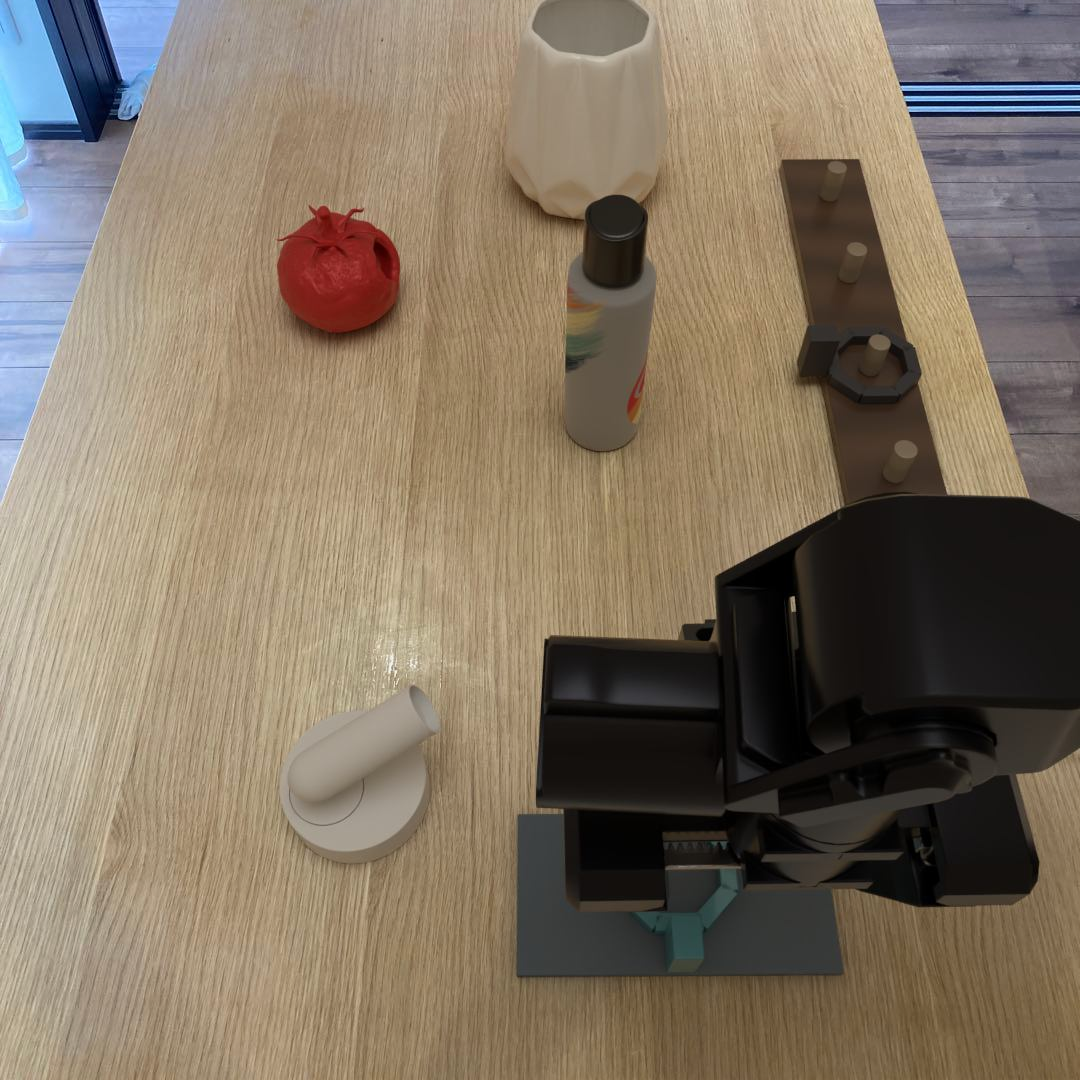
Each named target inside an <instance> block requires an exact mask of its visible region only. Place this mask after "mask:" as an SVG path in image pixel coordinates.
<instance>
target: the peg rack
mask: <svg viewBox="0 0 1080 1080" xmlns="http://www.w3.org/2000/svg"><path fill="white" fill-rule="evenodd" d="M862 168H863V167H862V164H861V160H860V159H859V158H798V159H797V158H795V159H791V158H790V159H789V158H788V159H787V158H785V159H783V158H782V159H781V161H780V165H779V175H780V180H781V185H782V192H783V196H784V200H785V206H786V211H787V216H788V221H789V225H790V231H791V232H790V233H791V237H792V241H793V247H794V251H795V257H796V261H797V267H798V272H799V277H800V281H801V287H802V292H803V298H804V302H805V307H806V312H807V317H808V323H809V325H837V328H838V333H840V332H841V331H842V330H843V329H845V328H848V327H882V329H883V328H884V327H885V328H886V329H888V330H890V331H891V332H893V333H895V334H896V335H898V336H899V337H901V338H903V339H904V340H906V341H908V339H907V335H906V331H905V328H904V324H903V320H902V317H901V312H900V309H899V305H898V301H897V297H896V294H895V290H894V286H893V282H892V279H891V275H890V271H889V267H888V263H887V260H886V256H885V252H884V248H883V244H882V241H881V237H880V232H879V229H878V225H877V221H876V218H875V214H874V210H873V206H872V202H871V198H870V195H869V191H868V187H867V183H866V179H865V176H864V172H863V169H862ZM890 345H891V343H890V340H889V339H888V338H887V337H886V336H884V335H879V334H877V335H873V336H872V337H870V339H869V341H868V344H850V345H849V346H848V347H847V348H846V349H845V350H844V351H843V352H842V353H840V354H839V355H838V356H839V361H840V365H841V370H842V371H843V372H844V373H846V374H847V375H849V376H850V377H852V378H854V379H855V380H857V381H858V382H860V383H861V384H863V385H864V386H893V385H894V384H895V383H896V382H897V381H898V380H899V379H900V378H901V377H902V376H903V375H904V374H903V370H902V366H901V362H900V358H898V357H896V356H895V355H893V354H892V353H890V352H888V350H889V348H890ZM819 378H820V383H821V388H822V394H823V399H824V404H825V408H826V413H827V418H828V424H829V429H830V435H831V439H832V444H833V450H834V454H835V455H834V456H835V460H836V464H837V470H838V474H839V480H840V485H841V491H842V495H843V500H844V506H846V505H847V504H850V503H852V502H854V501H857V500H859V499H862V498H864V497H868V496H872V495H877V494H882V493H889V492H911V493H918V494H943V495H948V492H947V488H946V484H945V480H944V475H943V473H942V469H941V466H940V461H939V458H938V454H937V449H936V446H935V442H934V438H933V434H932V431H931V426H930V423H929V419H928V416H927V415H928V414H927V411H926V407H925V403H924V401H923V396H922V393H921V389H920V388H921V387H920V385H919V383H918V384H917V385H916V386H915V387H914V388H913V389H912V390H911V391H910V392H908V393H907V394H906V395H905V396H904V397H903V398H902V399H901V400H900V401H899V402H898V403H897V402H896V403H895V404H860V402H858V403H856V402H855V401H853V400H852V399H850V398H848V397H847V396H845V395H844V394H842V393H841V392H839V391H838V390H836V389H835V388H833V387H832V386H830V385H829V384H828V383H829V382H827V380H826V377H819Z"/></svg>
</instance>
